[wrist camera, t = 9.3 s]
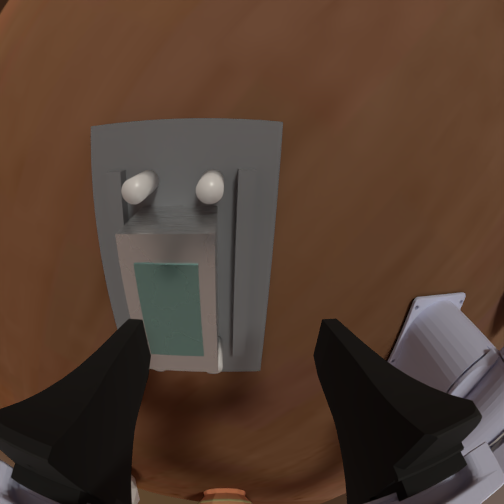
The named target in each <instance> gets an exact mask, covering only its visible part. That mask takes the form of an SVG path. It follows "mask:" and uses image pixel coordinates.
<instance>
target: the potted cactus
mask: <svg viewBox="0 0 504 504" xmlns="http://www.w3.org/2000/svg"><path fill="white" fill-rule="evenodd" d="M203 493H204V497H203V499H202V500H201V501H200V502H199V503H198V504H252V503H251V502H250V501H249V500H248V499H247V498H246V497H245V494H246V493H245V491H243V490H240V489H232V488H215V489H209V490H206V491H204V492H203Z"/></svg>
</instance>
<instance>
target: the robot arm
mask: <svg viewBox="0 0 504 504" xmlns="http://www.w3.org/2000/svg"><path fill="white" fill-rule="evenodd" d="M464 299H465V293H463V292H460V293H452V294H443V295H433V296H423V297H416V298H415V299H414V300H413V303H412V305H411V308H410V311H409V313H408V316H407V318H406V321H405V323H404V326H403V328H402V330H401V333H400V335H399V337H398V340H397V342H396V344H395V346H394V349H393V351H392V353H391V355H390V357H389V359H388V361H386V360H384V359H383V358H382V357H380V356H379V355H378V354H377V353H375V352H374V351H373V350H372V349H370V348H369V347H368V346H367V345H366V344H364V343H363V342H362V341H361V340H360V339H359V338H358V337H356V336H355V335H354V334H353V333H352V332H351V331H350V330H349V329H347V328H346V327H345V326H344V325H343V324H342V323H341V322H339V321H338V320H337V319H323V320H322V323H321V327H320V331H319V335H318V339H317V343H316V347H315V351H314V360H315V365H316V369H317V374H318V377H319V380H320V383H321V386H322V388H323V391H324V394H325V397H326V399H327V402H328V405H329V407H330V410H331V413H332V416H333V419H334V422H335V425H336V429H337V434H338V439H339V443H340V448H341V454H342V459H343V466H344V473H345V482H346V493H347V504H481V503H482V502H484V501H485V500H486V499H487V498H488V497H489V496H491V495H492V494H493V493H494V492H495V491H497V490H498V489H499V488H500V487H501V486H502V485H503V484H504V435H503V436H502V437H501V438H500V439H499V440H498V441H497V442H495V443H494V444H493V445H491V444H492V443H493V442H494V441H495V440H496V439H497V438H498V437H499V436H501V435H502V434H503V433H504V347H503V348H502V349H501V350H500V351H499V350H497V349H496V348H495V346H494V345H493V344H492V343H491V342H490V341H489V340H488V339H487V338H486V337H485V335H484V334H483V333H482V332H481V331H480V330H479V329H478V328H477V327H476V326H475V325H474V324H473V323H472V322H471V321H470V320H469V319H468V318H467V317H466V316H465V315H464V314H463V313H462V312H461V311H460V308H461V306H462V304H463V301H464ZM150 360H151V354H150V350H149V346H148V341H147V337H146V333H145V328H144V324H143V320H141V319H128V320H127V321H126V322H125V323H124V324H123V325H122V326H121V327H120V328H119V329H118V330H117V331H116V332H115V333H114V334H113V335H112V336H111V337H110V338H109V339H108V340H107V341H106V342H105V343H104V344H103V345H102V346H101V347H100V348H99V349H98V350H97V351H96V352H94V353H93V354H92V355H91V356H90V357H89V358H88V359H87V360H86V361H84V362H83V363H82V364H81V365H80V366H79V367H77V368H76V369H75V370H74V371H72V372H71V373H70V374H68V375H67V376H65V377H64V378H63V379H61V380H60V381H58V382H56V383H55V384H53V385H52V386H50V387H48V388H47V389H45V390H43V391H42V392H40V393H38V394H36V395H34V396H32V397H30V398H28V399H26V400H23V401H21V402H18V403H16V404H13V405H10V406H7V407H5V408H2V409H0V450H1V451H2V452H4V453H5V454H6V455H7V456H8V457H9V458H10V459H11V460H13V461H14V462H15V466H14V468H13V467H11V466H10V465H8V464H7V463H5V462H3V461H2V460H0V504H132V494H131V465H132V450H133V440H134V431H135V425H136V420H137V416H138V412H139V408H140V405H141V401H142V397H143V394H144V390H145V386H146V383H147V379H148V374H149V367H150ZM489 445H491V446H489Z"/></svg>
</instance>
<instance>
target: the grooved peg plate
mask: <svg viewBox="0 0 504 504" xmlns="http://www.w3.org/2000/svg"><path fill="white" fill-rule="evenodd" d="M282 128H283V122H277V121H264V120H248V119H220V118H190V119H162V120H146V121H134V122H124V123H115V124H106V125H99V126H92V127H91V164H92V182H93V195H94V206H95V215H96V224H97V231H98V238H99V245H100V251H101V257H102V263H103V268H104V274H105V279H106V284H107V288H108V293H109V297H110V302H111V306H112V310H113V314H114V318H115V322H116V325H117V329H119V328H120V327H121V326H122V325H123V324H124V323H125V322H126V321H127V320H128V319H131V318H130V314H129V310H128V305H127V300H126V296H125V291H124V286H123V280H122V275H121V269H120V263H119V257H118V251H117V244H116V236H115V234H116V233H117V232H118V231H119V230H120V229H121V228H122V227H123V226H124V225H125V224H126V223H127V222H128V221H129V220H130V219H131V218H132V217H133V216H134V215H135V214H136V213H137V212H138V211H139V210H140V209H141V208H142V207H143V206H218V308H219V349H218V372H207V373H210V374H217V373H219V372H221V371H260V367H261V359H262V350H263V341H264V332H265V322H266V313H267V303H268V293H269V283H270V273H271V263H272V252H273V241H274V230H275V219H276V207H277V195H278V182H279V169H280V156H281V142H282ZM154 370H156V371H165V370H160V369H154Z"/></svg>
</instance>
